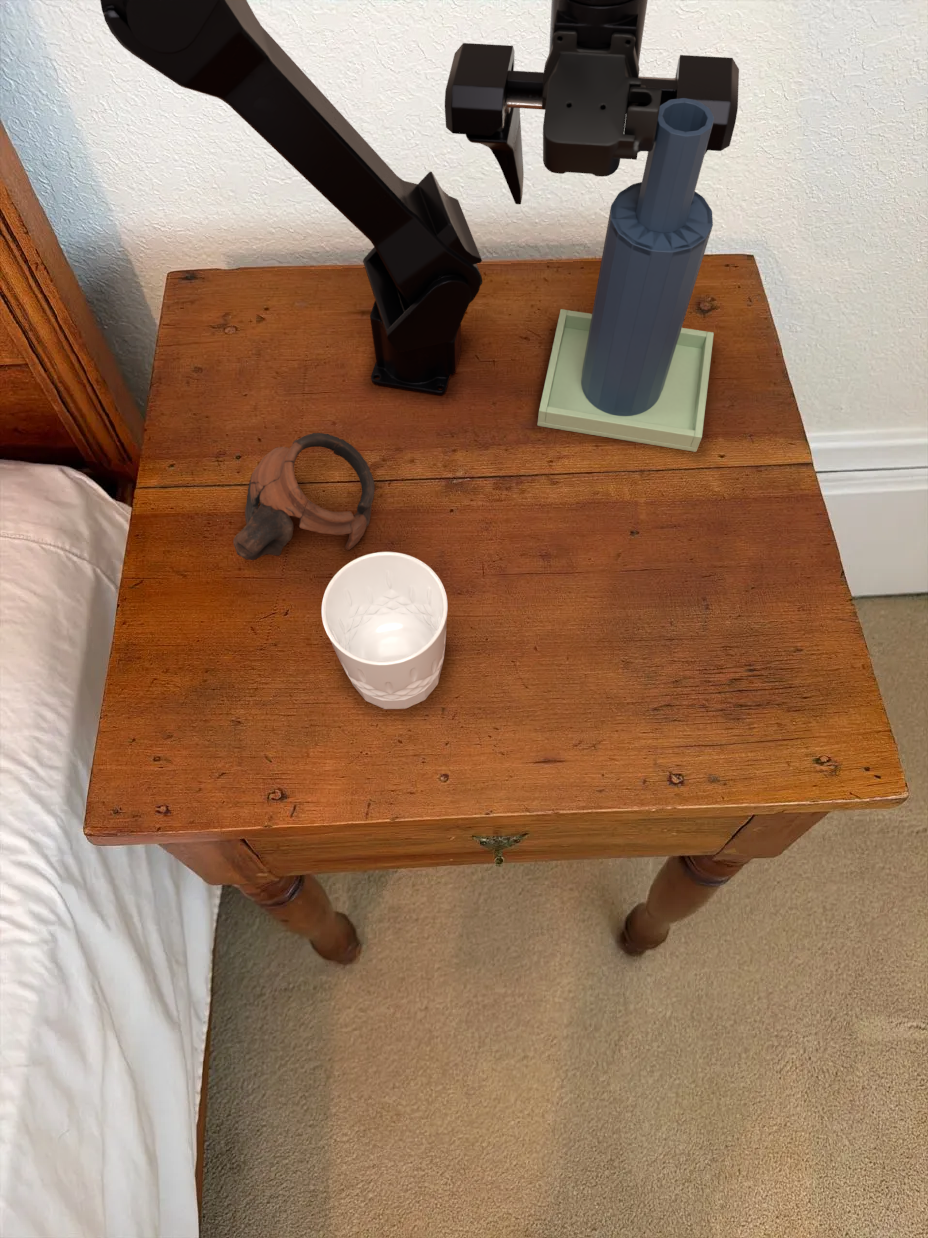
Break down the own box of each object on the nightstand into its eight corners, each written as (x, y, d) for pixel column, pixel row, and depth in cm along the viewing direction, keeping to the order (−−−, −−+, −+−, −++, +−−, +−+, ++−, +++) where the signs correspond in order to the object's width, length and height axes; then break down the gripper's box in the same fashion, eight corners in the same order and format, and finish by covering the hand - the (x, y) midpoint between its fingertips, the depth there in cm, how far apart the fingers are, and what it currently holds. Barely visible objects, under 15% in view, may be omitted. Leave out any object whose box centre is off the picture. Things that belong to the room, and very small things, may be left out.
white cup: (437, 728, 62) (432, 675, 53) (329, 706, 63) (306, 651, 54) (460, 628, 65) (459, 562, 56) (357, 609, 66) (339, 541, 57)
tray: (537, 425, 73) (538, 410, 72) (558, 325, 78) (560, 308, 76) (696, 452, 72) (702, 437, 70) (708, 348, 77) (713, 332, 75)
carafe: (621, 430, 73) (687, 171, 51) (564, 380, 75) (604, 112, 53) (678, 387, 74) (765, 120, 53) (621, 340, 77) (683, 65, 55)
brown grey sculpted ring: (278, 454, 73) (315, 399, 66) (364, 531, 74) (409, 485, 68) (184, 543, 66) (216, 491, 59) (282, 627, 67) (324, 585, 61)
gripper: (421, 54, 49) (439, 273, 63) (762, 73, 47) (703, 295, 62) (452, -60, 54) (463, 168, 68) (764, -46, 52) (708, 185, 66)
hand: (580, 204), depth 66 cm, fingers open, 9 cm apart
